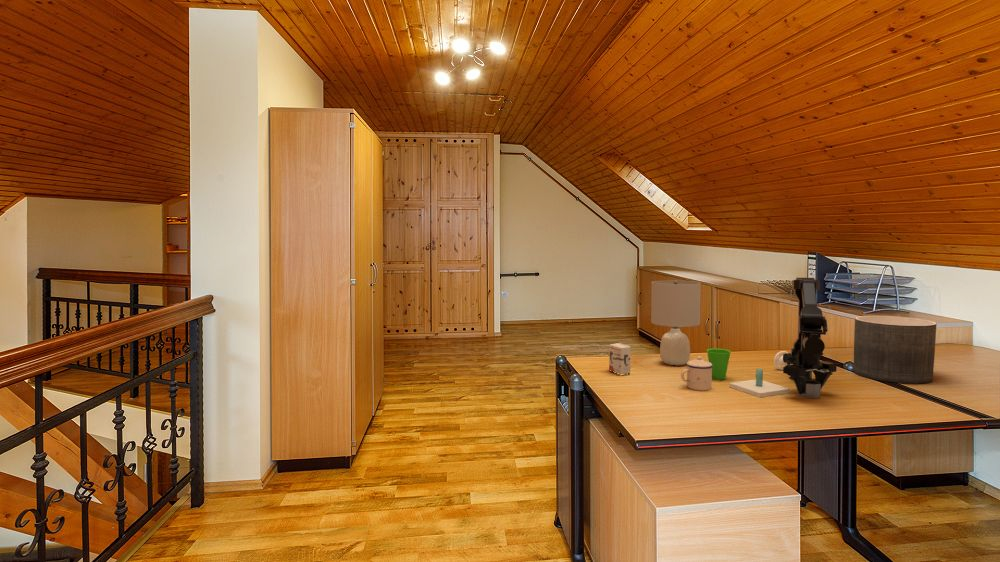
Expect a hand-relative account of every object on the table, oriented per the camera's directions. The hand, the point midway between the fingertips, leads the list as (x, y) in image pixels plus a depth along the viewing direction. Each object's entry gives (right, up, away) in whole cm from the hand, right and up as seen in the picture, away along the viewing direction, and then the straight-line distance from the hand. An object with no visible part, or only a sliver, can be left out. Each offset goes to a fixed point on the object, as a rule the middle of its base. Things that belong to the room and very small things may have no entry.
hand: (809, 392), depth 179 cm
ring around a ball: (+10, +2, +37) cm, 38 cm away
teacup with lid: (-35, -1, +12) cm, 37 cm away
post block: (-13, -1, +8) cm, 16 cm away
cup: (-21, 0, +24) cm, 32 cm away
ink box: (-58, 0, +34) cm, 67 cm away
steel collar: (0, -1, 0) cm, 1 cm away
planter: (+47, +1, +25) cm, 53 cm away
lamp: (-30, +2, +49) cm, 57 cm away
